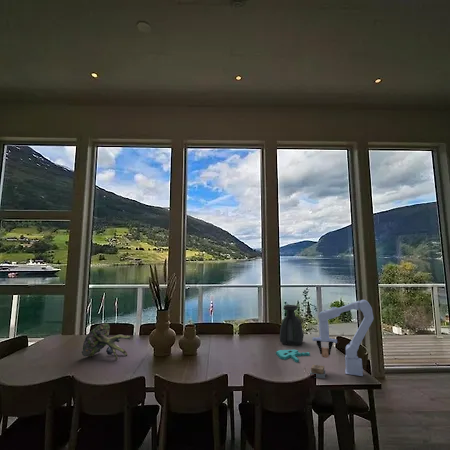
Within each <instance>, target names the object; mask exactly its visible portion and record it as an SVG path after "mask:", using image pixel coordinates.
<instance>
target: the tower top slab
mask: <svg viewBox="0 0 450 450" xmlns="http://www.w3.org/2000/svg"><path fill="white" fill-rule="evenodd" d="M310 371H311V373H318V374H323V373H324V371H325V372H326V369H325V365H320V364H319V365H318V364H312V365H311V368H310Z"/></svg>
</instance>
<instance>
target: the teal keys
mask: <svg viewBox="0 0 450 450" xmlns="http://www.w3.org/2000/svg"><path fill="white" fill-rule="evenodd" d="M275 355H277V357H278V358H279V360H280V359H281V360H284V361H285V360H288V359H289V358H291V360H292V361H293V362H294V363H299V362H300V359H299V358H298V357H309V356H310V355H311V352H309V351H307V352H299V350H298V349H293V348H292V349H279V350H277V351H276V352H275Z"/></svg>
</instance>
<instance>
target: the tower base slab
mask: <svg viewBox="0 0 450 450" xmlns="http://www.w3.org/2000/svg"><path fill="white" fill-rule="evenodd" d="M326 372H327V371H326V370H325V371H324V373H323V374H318V373H311V370H310V371H309V376H310V375H311V374H316V377H315V378H318V379H325V378H326V374H327V373H326Z"/></svg>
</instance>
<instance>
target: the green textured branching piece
mask: <svg viewBox="0 0 450 450" xmlns="http://www.w3.org/2000/svg"><path fill="white" fill-rule="evenodd" d="M110 327H111V326H110V324H109V323H107V322H106V323H101V324H98V325H96V326H95V327H94V328H93V329H91V330H90V331H89V332H88V333H87V335H86V337H85V338H84V341H83V344H82V351H81V354H82V356H83V357H91V356H92V357H93V356H94V355H96V354H97V353H100V351H101V350H102V349H103V348H105V347H106V346H108V347H107V348H106V351H105V352H106V354H107V355H108V356H109V355H110V356H114V359H115V360H116V361H118V360H119V359H118V358H119V356H118V354H117V351H118V352H120V353H122V354H123V355H125V356H126V355H127V356H128V352H127V351H126V350H125V349H124V348H122V347H121V346H119V345H117V343H120V340H121V339H123V340H131V339H132V338H131V335H127V334H126V335H124V334H117V335H114V336H111V337H109V335H110V330H111V328H110ZM116 342H117V343H116Z"/></svg>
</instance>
